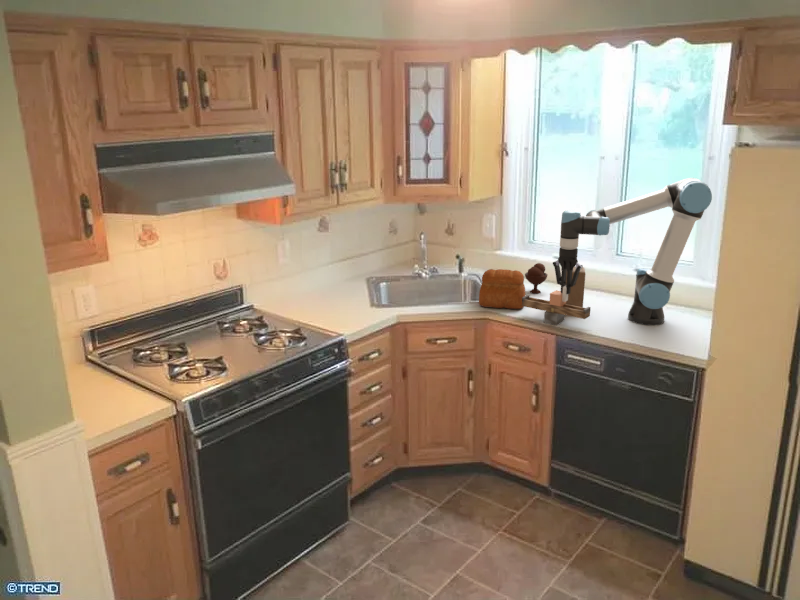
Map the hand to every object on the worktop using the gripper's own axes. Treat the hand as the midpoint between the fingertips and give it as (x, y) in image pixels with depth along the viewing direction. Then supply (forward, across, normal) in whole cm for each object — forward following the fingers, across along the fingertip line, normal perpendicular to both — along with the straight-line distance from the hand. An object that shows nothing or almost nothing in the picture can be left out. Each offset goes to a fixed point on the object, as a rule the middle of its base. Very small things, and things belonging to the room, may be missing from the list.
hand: (564, 300), depth 295 cm
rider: (+3, +3, 0) cm, 5 cm away
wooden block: (+11, +5, -19) cm, 23 cm away
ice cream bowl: (+11, +32, -36) cm, 50 cm away
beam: (+11, +4, 0) cm, 11 cm away
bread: (+11, +35, -8) cm, 38 cm away
